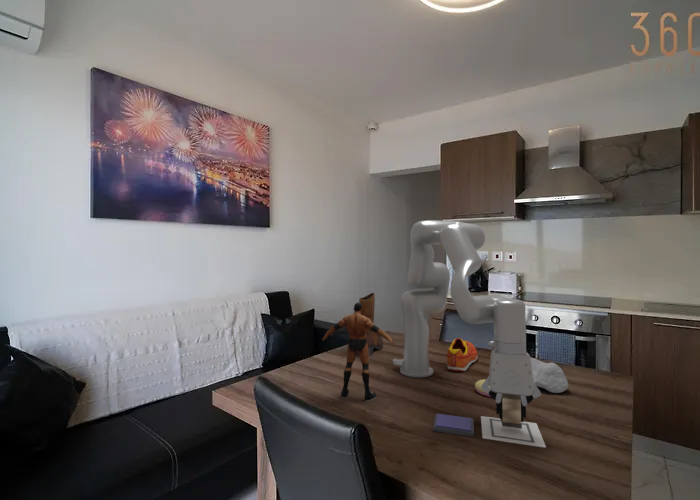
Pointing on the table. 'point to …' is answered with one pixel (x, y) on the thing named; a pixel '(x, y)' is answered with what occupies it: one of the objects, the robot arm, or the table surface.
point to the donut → (479, 388)
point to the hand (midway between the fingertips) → (510, 417)
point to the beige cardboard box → (511, 411)
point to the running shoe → (461, 355)
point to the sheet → (511, 432)
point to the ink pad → (454, 425)
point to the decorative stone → (548, 376)
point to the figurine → (357, 346)
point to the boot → (368, 311)
